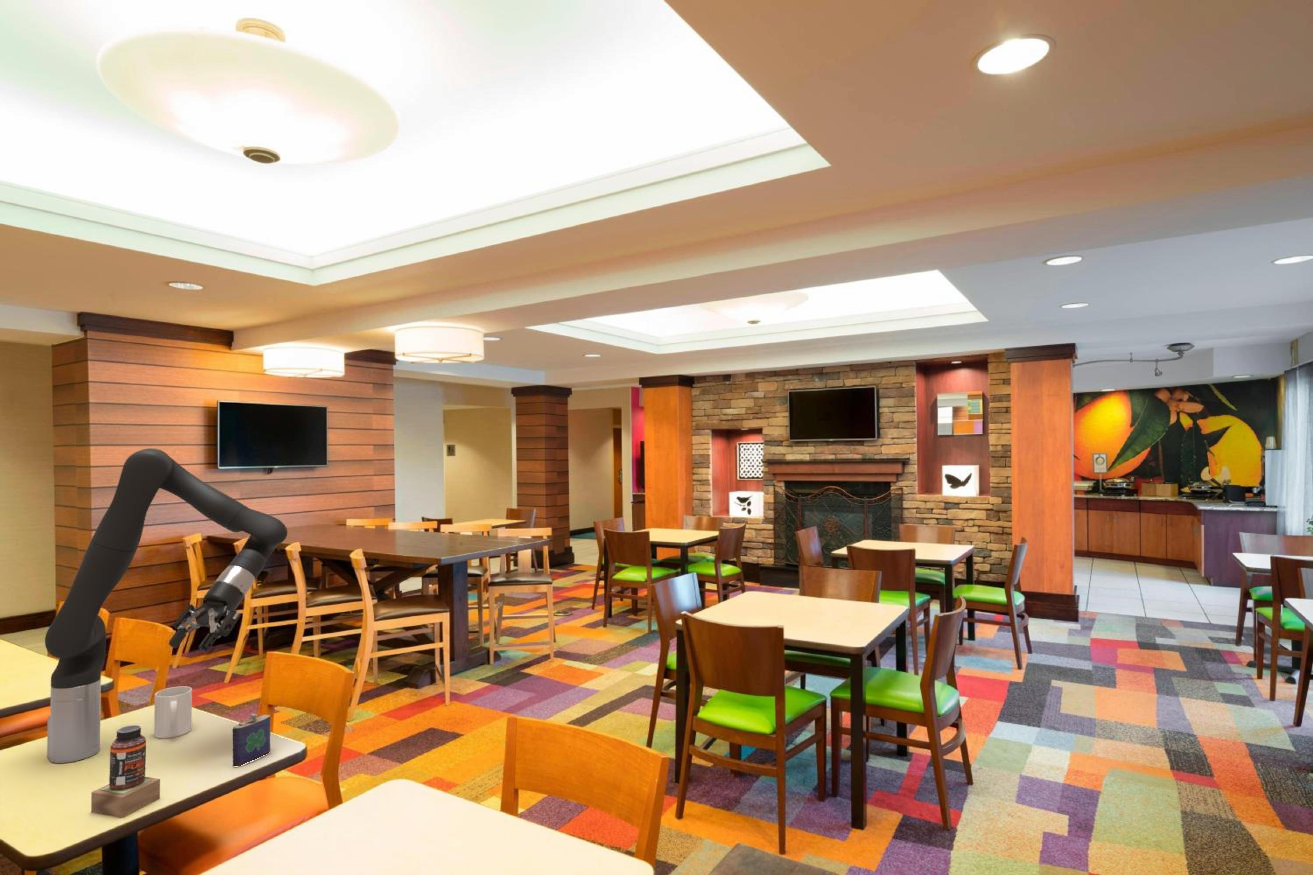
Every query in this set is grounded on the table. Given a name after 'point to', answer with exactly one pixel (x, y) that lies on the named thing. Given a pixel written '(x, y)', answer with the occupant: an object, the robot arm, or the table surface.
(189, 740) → the table surface
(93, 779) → the table surface
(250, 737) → the flask
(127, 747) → the supplement bottle
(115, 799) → the block
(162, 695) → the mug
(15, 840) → the table surface
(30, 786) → the table surface
